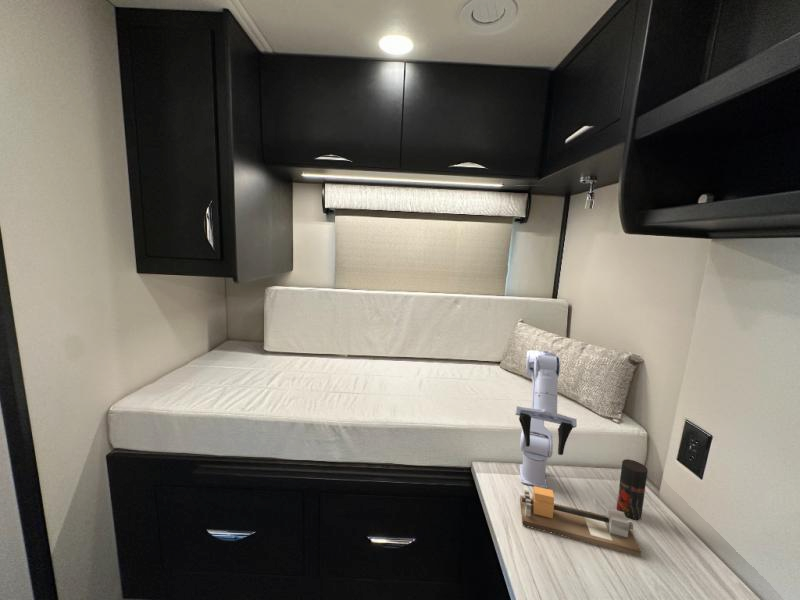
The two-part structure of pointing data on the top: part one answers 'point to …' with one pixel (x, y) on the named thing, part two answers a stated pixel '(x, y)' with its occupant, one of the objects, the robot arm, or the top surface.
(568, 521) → the cord board
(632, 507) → the deodorant
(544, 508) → the orange notched block
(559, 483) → the top surface
